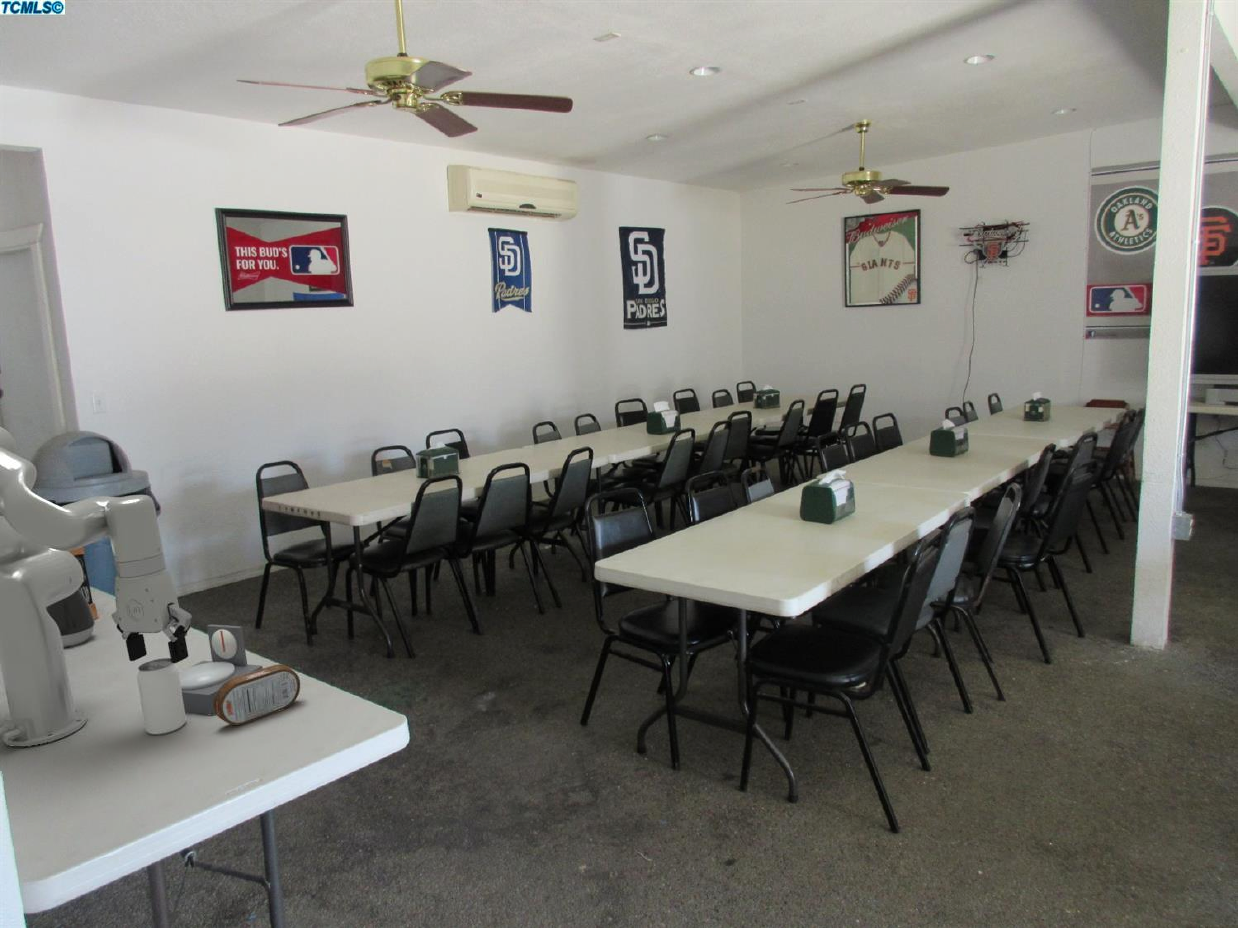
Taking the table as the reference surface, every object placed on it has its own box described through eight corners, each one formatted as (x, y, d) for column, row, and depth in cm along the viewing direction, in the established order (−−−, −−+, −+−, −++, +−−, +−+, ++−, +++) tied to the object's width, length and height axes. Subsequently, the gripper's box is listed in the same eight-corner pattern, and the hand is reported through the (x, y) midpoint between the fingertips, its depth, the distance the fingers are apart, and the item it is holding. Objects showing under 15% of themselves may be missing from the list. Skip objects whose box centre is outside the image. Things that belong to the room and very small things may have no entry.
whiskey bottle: (101, 617, 222) (80, 496, 217) (69, 631, 213) (46, 505, 208) (68, 616, 225) (46, 497, 220) (35, 630, 215) (11, 505, 210)
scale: (212, 715, 158) (203, 653, 156) (150, 708, 163) (140, 648, 161) (264, 684, 171) (256, 627, 169) (205, 679, 176) (197, 623, 174)
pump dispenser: (37, 648, 202) (25, 586, 199) (82, 633, 211) (71, 573, 208) (61, 653, 197) (49, 590, 194) (106, 638, 206) (95, 577, 203)
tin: (298, 699, 163) (292, 657, 161) (305, 703, 161) (299, 661, 159) (216, 728, 152) (209, 684, 151) (222, 734, 150) (215, 688, 149)
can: (176, 716, 159) (166, 654, 157) (192, 724, 155) (182, 661, 153) (140, 730, 154) (129, 666, 152) (155, 739, 150) (144, 674, 148)
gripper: (85, 572, 149) (104, 665, 152) (161, 573, 143) (179, 670, 146) (122, 560, 156) (140, 649, 159) (196, 560, 150) (213, 653, 153)
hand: (159, 659), depth 152 cm, fingers open, 9 cm apart
